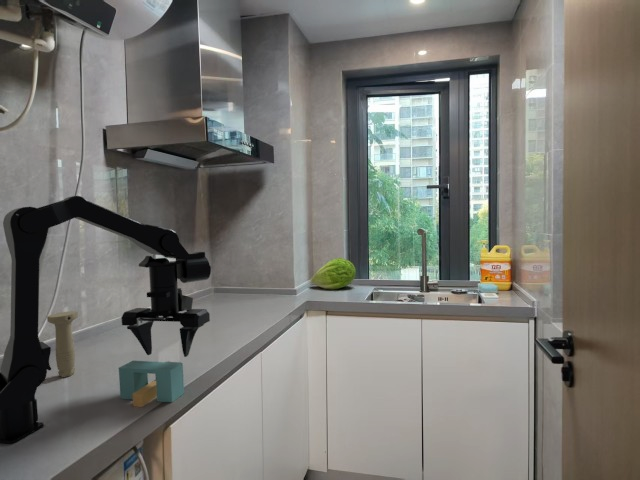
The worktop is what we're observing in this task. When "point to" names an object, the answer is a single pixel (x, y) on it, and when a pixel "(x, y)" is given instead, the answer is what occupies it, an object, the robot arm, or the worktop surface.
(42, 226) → the robot arm
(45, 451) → the worktop surface
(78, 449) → the worktop surface
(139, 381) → the housing
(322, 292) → the worktop surface
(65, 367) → the handle
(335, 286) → the lettuce
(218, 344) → the worktop surface
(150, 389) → the plug
